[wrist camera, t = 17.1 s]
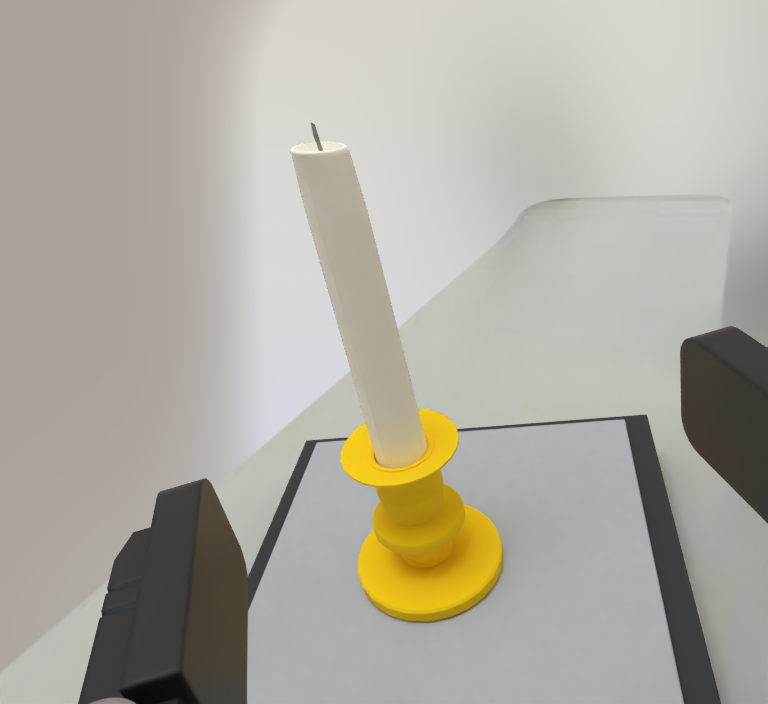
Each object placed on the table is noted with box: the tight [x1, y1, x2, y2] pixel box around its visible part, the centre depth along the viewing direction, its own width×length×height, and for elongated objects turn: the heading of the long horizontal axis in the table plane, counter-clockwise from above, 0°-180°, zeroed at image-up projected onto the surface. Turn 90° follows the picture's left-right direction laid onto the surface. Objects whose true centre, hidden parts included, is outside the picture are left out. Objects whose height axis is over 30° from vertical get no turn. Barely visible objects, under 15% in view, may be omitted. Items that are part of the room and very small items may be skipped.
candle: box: [290, 123, 503, 622], centre depth 21 cm, size 5×5×16 cm
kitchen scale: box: [247, 415, 721, 704], centre depth 25 cm, size 16×16×3 cm
